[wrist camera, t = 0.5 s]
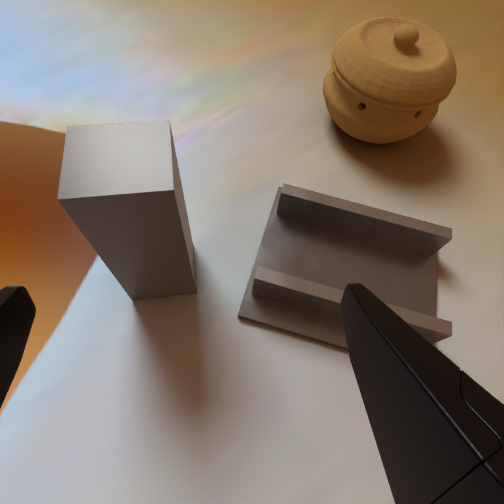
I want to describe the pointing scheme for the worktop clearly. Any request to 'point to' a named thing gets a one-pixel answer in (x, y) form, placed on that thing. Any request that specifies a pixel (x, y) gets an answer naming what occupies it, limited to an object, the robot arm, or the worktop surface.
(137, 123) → the gray rectangular block
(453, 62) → the pot
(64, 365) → the worktop surface
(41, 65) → the worktop surface
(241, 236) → the worktop surface
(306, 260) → the bracket
